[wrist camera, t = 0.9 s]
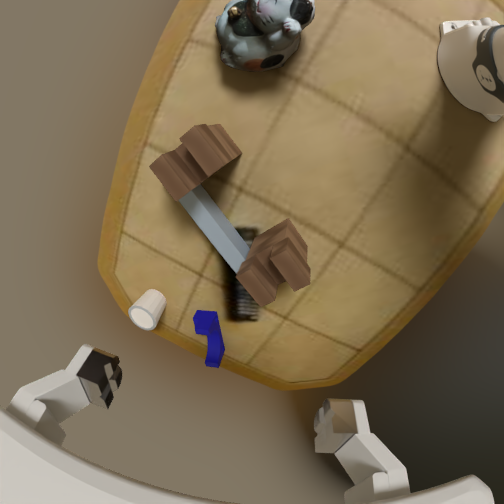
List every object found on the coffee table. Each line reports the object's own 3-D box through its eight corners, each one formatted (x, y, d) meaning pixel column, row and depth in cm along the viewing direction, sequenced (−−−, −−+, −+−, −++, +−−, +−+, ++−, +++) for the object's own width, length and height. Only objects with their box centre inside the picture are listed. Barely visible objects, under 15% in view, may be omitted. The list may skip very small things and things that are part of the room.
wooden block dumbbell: (222, 121, 40) (194, 125, 30) (310, 244, 48) (310, 284, 37) (185, 151, 44) (149, 166, 33) (271, 265, 51) (260, 307, 41)
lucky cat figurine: (214, 4, 31) (228, -53, 17) (287, 10, 33) (320, -38, 20) (214, 76, 33) (229, 22, 20) (295, 81, 36) (340, 38, 22)
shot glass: (148, 281, 59) (133, 300, 53) (173, 299, 60) (160, 320, 54) (139, 298, 62) (124, 317, 56) (162, 315, 63) (149, 335, 57)
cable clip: (197, 309, 60) (187, 327, 55) (216, 311, 59) (208, 330, 54) (207, 347, 66) (200, 365, 60) (225, 349, 65) (218, 367, 59)
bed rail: (181, 158, 45) (170, 163, 41) (263, 266, 52) (259, 278, 48) (169, 169, 46) (158, 174, 42) (250, 273, 53) (245, 285, 49)
